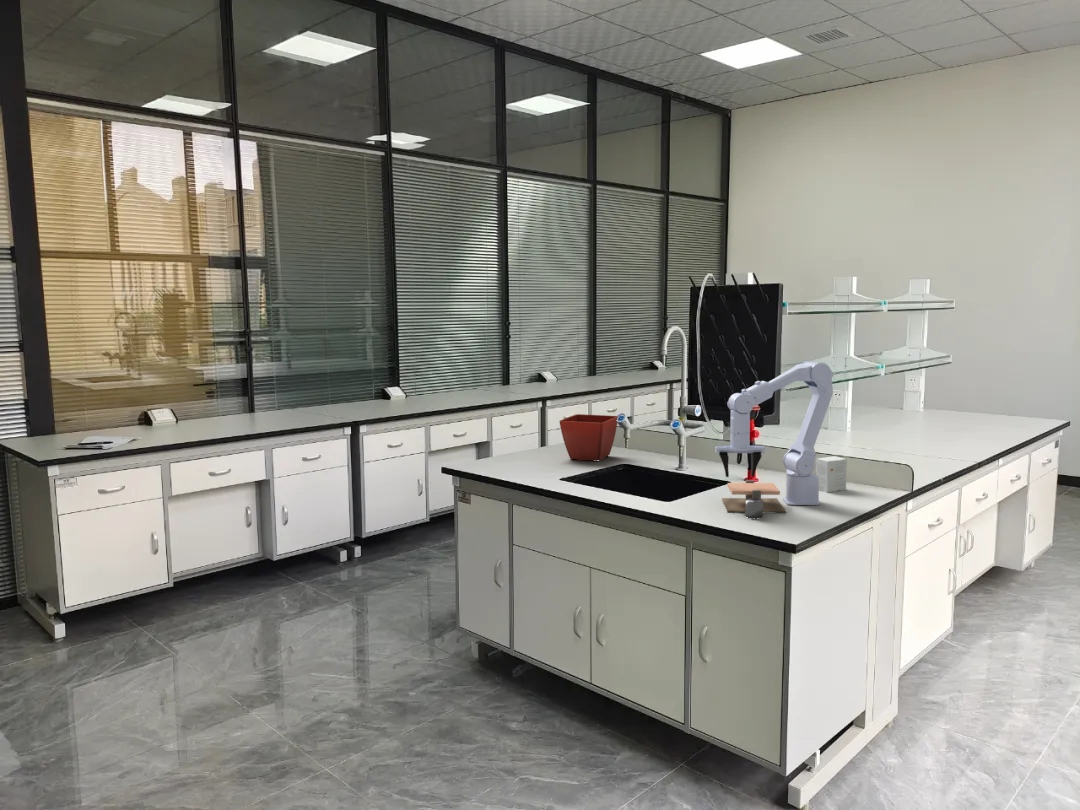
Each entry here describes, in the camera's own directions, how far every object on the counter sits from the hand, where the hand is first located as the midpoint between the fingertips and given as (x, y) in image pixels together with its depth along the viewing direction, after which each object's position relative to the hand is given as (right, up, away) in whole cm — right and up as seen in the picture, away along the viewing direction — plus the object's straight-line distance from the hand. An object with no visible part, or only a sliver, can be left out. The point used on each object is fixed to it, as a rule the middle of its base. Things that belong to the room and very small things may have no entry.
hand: (739, 476), depth 236 cm
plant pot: (-41, 0, +82) cm, 92 cm away
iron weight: (+1, -11, -11) cm, 16 cm away
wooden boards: (+4, -9, +1) cm, 10 cm away
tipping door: (+4, -4, 0) cm, 6 cm away
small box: (+35, -6, +19) cm, 40 cm away
